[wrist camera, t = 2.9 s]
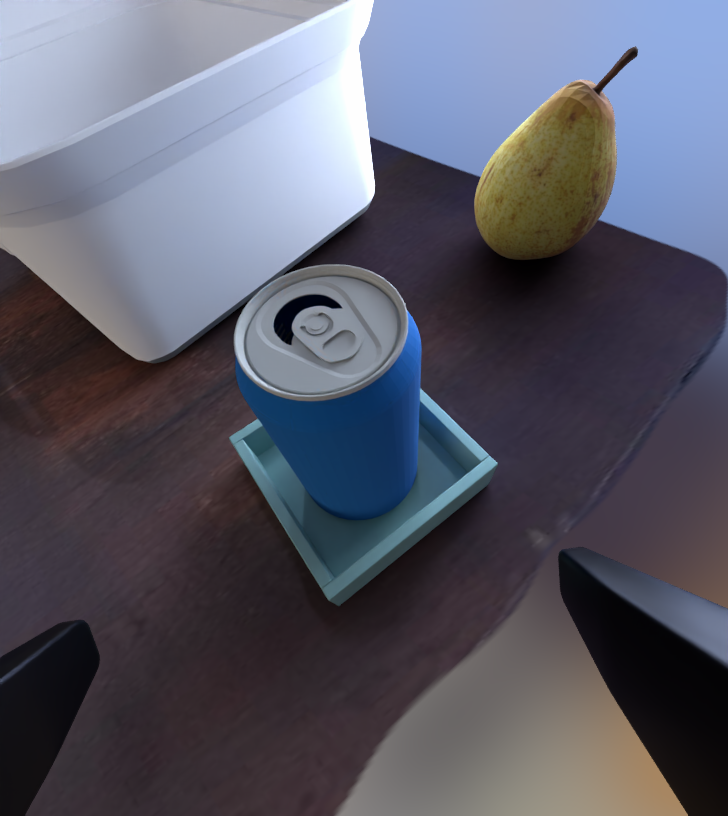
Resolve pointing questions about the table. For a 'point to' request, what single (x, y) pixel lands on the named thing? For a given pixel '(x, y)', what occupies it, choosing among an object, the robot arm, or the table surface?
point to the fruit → (551, 173)
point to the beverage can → (335, 384)
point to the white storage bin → (177, 152)
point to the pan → (379, 537)
